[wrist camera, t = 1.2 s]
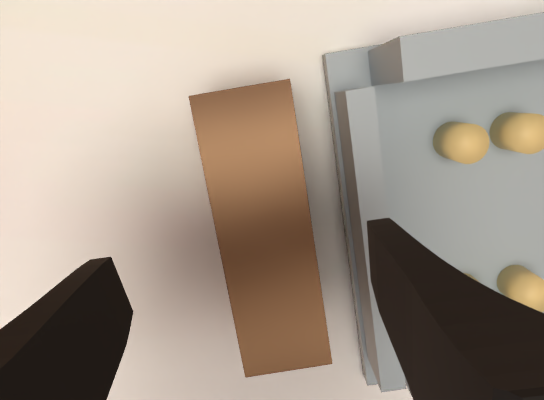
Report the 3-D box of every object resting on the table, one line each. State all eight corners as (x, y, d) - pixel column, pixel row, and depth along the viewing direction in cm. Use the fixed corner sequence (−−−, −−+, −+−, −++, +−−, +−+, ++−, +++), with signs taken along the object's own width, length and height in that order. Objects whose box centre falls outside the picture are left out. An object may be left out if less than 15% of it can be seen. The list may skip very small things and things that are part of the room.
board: (316, 301, 25) (332, 363, 19) (249, 311, 25) (245, 377, 19) (282, 84, 22) (289, 78, 16) (208, 96, 22) (188, 96, 16)
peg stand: (603, 338, 25) (705, 410, 19) (363, 374, 26) (393, 456, 20) (607, 7, 21) (737, -27, 15) (322, 55, 22) (343, 40, 16)
